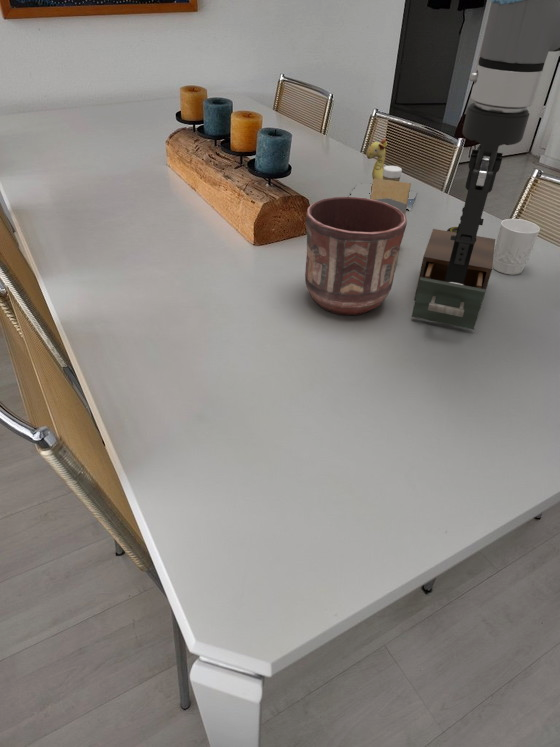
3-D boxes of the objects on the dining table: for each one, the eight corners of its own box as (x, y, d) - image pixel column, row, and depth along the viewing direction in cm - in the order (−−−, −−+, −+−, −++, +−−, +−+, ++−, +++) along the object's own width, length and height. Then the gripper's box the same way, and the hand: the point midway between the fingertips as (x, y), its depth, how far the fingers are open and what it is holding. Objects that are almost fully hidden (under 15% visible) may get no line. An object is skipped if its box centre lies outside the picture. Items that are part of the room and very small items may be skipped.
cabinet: (478, 313, 106) (492, 269, 100) (413, 300, 109) (423, 256, 103) (483, 281, 117) (495, 239, 111) (424, 270, 120) (433, 228, 114)
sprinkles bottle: (397, 221, 141) (406, 168, 133) (384, 225, 139) (392, 171, 131) (384, 215, 144) (393, 163, 136) (372, 219, 142) (379, 166, 134)
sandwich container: (355, 268, 119) (364, 201, 110) (364, 240, 131) (372, 177, 122) (395, 273, 118) (407, 206, 109) (399, 245, 130) (411, 182, 121)
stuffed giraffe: (357, 183, 164) (366, 127, 153) (417, 194, 160) (429, 137, 150) (345, 203, 152) (353, 144, 142) (409, 215, 148) (422, 155, 138)
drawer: (472, 341, 96) (483, 303, 91) (407, 328, 99) (415, 290, 94) (478, 296, 110) (488, 260, 105) (421, 285, 112) (429, 250, 108)
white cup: (523, 279, 118) (538, 235, 112) (486, 271, 120) (499, 228, 114) (526, 265, 124) (541, 222, 118) (491, 257, 126) (503, 215, 120)
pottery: (324, 332, 99) (334, 238, 88) (287, 287, 111) (291, 201, 100) (407, 315, 104) (426, 226, 93) (363, 274, 117) (375, 191, 106)
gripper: (473, 90, 76) (438, 246, 90) (462, 117, 62) (422, 295, 77) (530, 96, 74) (484, 254, 88) (531, 124, 60) (477, 306, 75)
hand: (456, 273), depth 82 cm, fingers open, 5 cm apart
